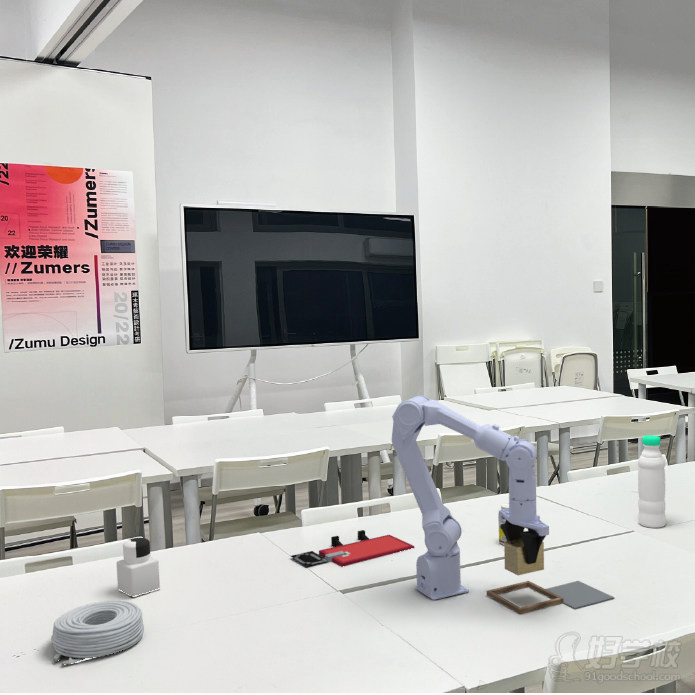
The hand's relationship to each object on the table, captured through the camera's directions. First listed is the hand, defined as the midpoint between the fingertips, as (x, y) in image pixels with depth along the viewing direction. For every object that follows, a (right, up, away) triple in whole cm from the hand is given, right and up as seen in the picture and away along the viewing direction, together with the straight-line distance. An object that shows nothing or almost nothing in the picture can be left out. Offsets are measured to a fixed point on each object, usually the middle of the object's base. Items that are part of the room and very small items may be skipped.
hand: (523, 559), depth 164 cm
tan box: (0, -2, 0) cm, 2 cm away
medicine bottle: (-87, -11, +13) cm, 88 cm away
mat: (+12, -8, +2) cm, 15 cm away
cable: (-88, -13, -13) cm, 89 cm away
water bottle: (+47, -4, +48) cm, 68 cm away
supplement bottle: (+5, -6, +37) cm, 38 cm away
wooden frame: (0, -9, +1) cm, 9 cm away
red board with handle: (-37, -8, +34) cm, 51 cm away
